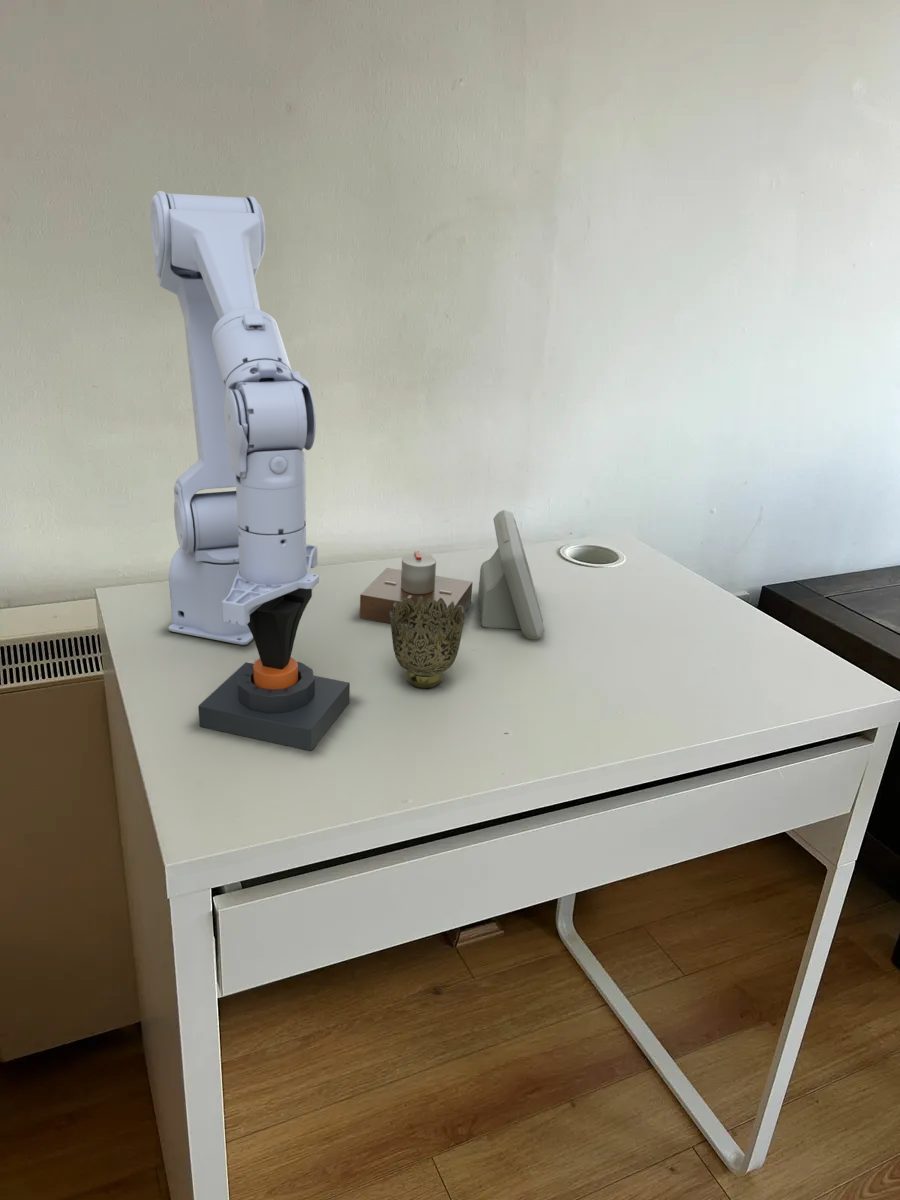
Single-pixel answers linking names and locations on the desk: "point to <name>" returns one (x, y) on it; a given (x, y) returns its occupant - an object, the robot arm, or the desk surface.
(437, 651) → the cup
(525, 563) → the digital clock
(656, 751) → the desk surface
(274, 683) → the orange button cap
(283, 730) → the button base
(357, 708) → the desk surface
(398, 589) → the dial panel
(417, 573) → the dial
